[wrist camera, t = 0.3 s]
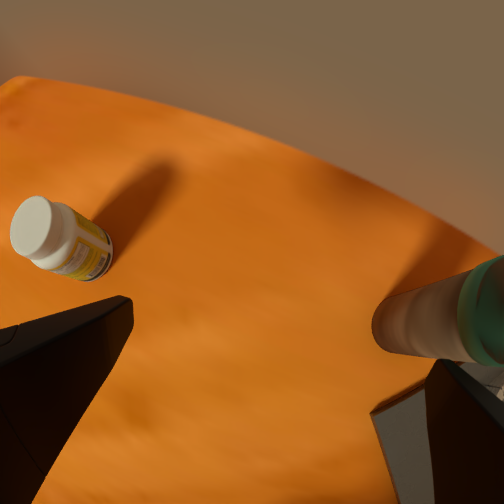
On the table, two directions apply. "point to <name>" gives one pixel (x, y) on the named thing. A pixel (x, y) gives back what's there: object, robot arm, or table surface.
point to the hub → (418, 436)
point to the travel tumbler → (448, 318)
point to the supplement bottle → (60, 239)
